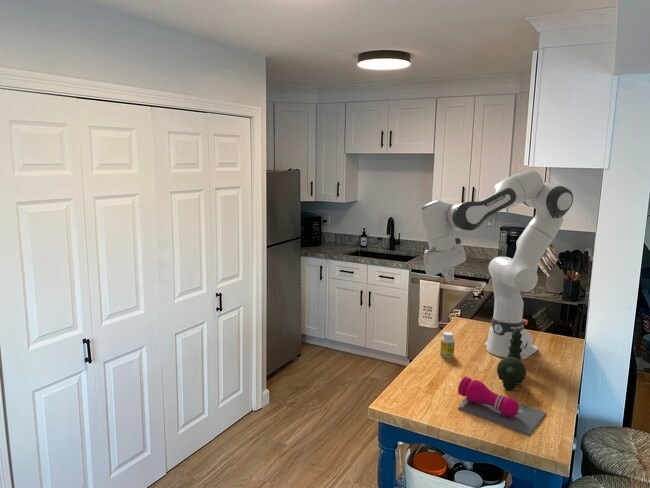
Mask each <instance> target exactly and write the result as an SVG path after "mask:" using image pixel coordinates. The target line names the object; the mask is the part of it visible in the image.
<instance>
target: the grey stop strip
mask: <svg viewBox="0 0 650 488" xmlns="http://www.w3.org/2000/svg"><path fill="white" fill-rule="evenodd" d="M469 402H470V401H469V400H468V399H467V397H466V396H465V398H464V399H462V401H460V402H459V406H460V407H464V406H465V405H467V404H468V403H469Z"/></svg>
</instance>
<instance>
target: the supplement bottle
mask: <svg viewBox="0 0 650 488" xmlns="http://www.w3.org/2000/svg"><path fill="white" fill-rule="evenodd" d="M442 333H443V334H442V337H441V338H440V350H439V351H440V352H439V353H440V354H439V355H440V356H441V357H442V358H444V359H452V358H453V357H454V355H455V342H456V341H455V339H454V333H453V332H451V331H443V332H442Z"/></svg>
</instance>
